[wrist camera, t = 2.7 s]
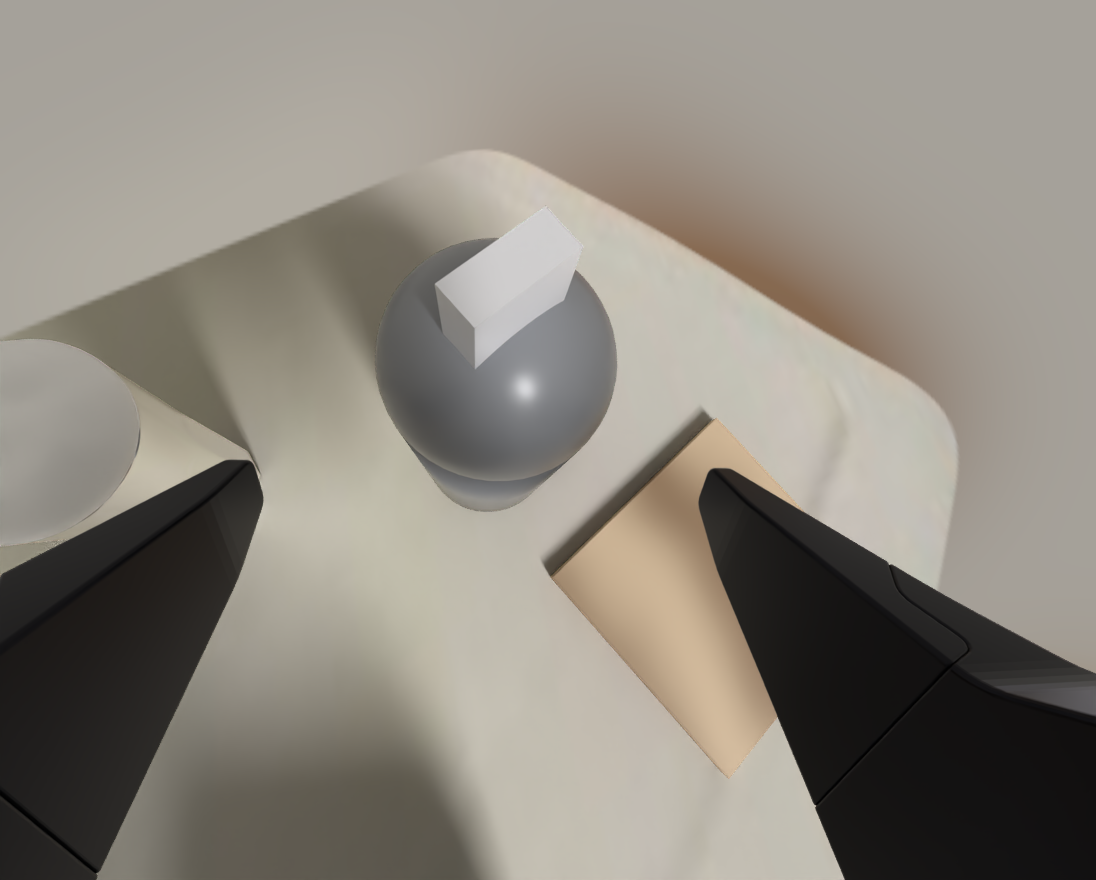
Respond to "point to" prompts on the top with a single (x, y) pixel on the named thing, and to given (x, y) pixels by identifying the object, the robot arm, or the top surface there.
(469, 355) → the grey bottle
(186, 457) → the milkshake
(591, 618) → the cork mat
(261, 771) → the top surface
